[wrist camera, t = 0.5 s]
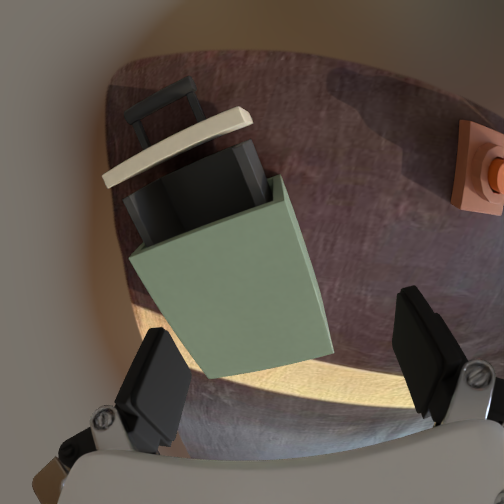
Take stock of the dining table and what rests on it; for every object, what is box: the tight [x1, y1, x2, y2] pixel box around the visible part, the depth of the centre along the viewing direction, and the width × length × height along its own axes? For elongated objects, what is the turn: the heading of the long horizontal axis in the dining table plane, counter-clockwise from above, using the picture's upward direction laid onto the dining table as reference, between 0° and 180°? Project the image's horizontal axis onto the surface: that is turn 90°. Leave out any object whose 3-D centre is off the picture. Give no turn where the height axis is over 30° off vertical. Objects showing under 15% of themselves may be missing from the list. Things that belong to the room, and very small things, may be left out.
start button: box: [488, 159, 504, 194], centre depth 19 cm, size 4×4×2 cm
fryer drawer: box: [102, 76, 273, 247], centre depth 22 cm, size 18×11×8 cm, turn 21°
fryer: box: [129, 174, 334, 379], centre depth 26 cm, size 15×13×10 cm
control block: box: [451, 120, 504, 216], centre depth 21 cm, size 10×8×4 cm
